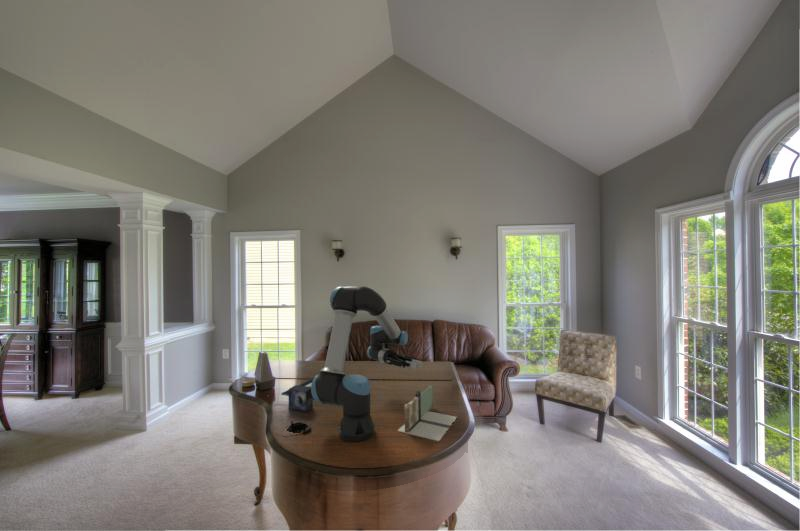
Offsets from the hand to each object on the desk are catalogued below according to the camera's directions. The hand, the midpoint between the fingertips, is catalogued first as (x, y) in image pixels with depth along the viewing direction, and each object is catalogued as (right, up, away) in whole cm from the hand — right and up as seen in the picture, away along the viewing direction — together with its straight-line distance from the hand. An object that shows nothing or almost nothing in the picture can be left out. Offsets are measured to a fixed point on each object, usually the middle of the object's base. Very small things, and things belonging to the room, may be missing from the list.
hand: (418, 365), depth 163 cm
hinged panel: (+3, -21, -5) cm, 22 cm away
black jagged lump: (-54, -23, -22) cm, 63 cm away
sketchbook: (-60, -24, +30) cm, 72 cm away
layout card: (+4, -22, -16) cm, 27 cm away
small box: (-60, -23, +2) cm, 64 cm away
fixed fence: (-3, -22, -18) cm, 28 cm away
